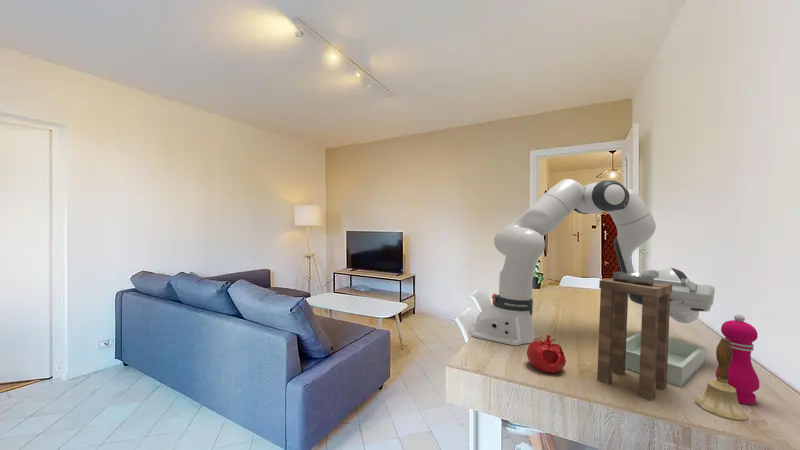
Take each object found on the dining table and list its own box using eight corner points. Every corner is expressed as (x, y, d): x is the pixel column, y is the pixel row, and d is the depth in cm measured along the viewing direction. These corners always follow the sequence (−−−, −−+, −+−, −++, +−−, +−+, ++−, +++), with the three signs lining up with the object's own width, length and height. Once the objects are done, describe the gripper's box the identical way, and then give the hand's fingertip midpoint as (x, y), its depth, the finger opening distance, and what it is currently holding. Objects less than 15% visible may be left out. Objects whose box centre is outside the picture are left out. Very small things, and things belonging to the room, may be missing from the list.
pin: (636, 276, 92) (636, 268, 92) (671, 280, 86) (671, 272, 86) (612, 280, 82) (613, 271, 82) (650, 286, 76) (651, 276, 76)
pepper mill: (738, 390, 79) (741, 311, 79) (768, 407, 72) (772, 320, 72) (706, 388, 80) (709, 309, 80) (733, 404, 73) (737, 318, 72)
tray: (640, 346, 108) (640, 331, 108) (704, 363, 95) (704, 347, 95) (610, 363, 93) (610, 346, 93) (681, 387, 80) (682, 367, 80)
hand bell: (740, 407, 72) (743, 337, 72) (754, 426, 65) (758, 348, 65) (691, 395, 76) (694, 329, 76) (699, 411, 69) (702, 339, 69)
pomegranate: (518, 363, 91) (520, 331, 91) (543, 358, 95) (545, 327, 95) (547, 379, 82) (549, 343, 82) (574, 373, 86) (575, 339, 86)
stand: (614, 368, 89) (617, 277, 89) (668, 387, 80) (672, 284, 80) (595, 379, 82) (599, 280, 82) (652, 401, 73) (657, 289, 72)
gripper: (637, 282, 111) (625, 264, 104) (719, 293, 95) (711, 273, 88) (634, 298, 109) (621, 282, 102) (716, 313, 93) (708, 294, 86)
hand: (663, 278), depth 95 cm, fingers open, 8 cm apart
